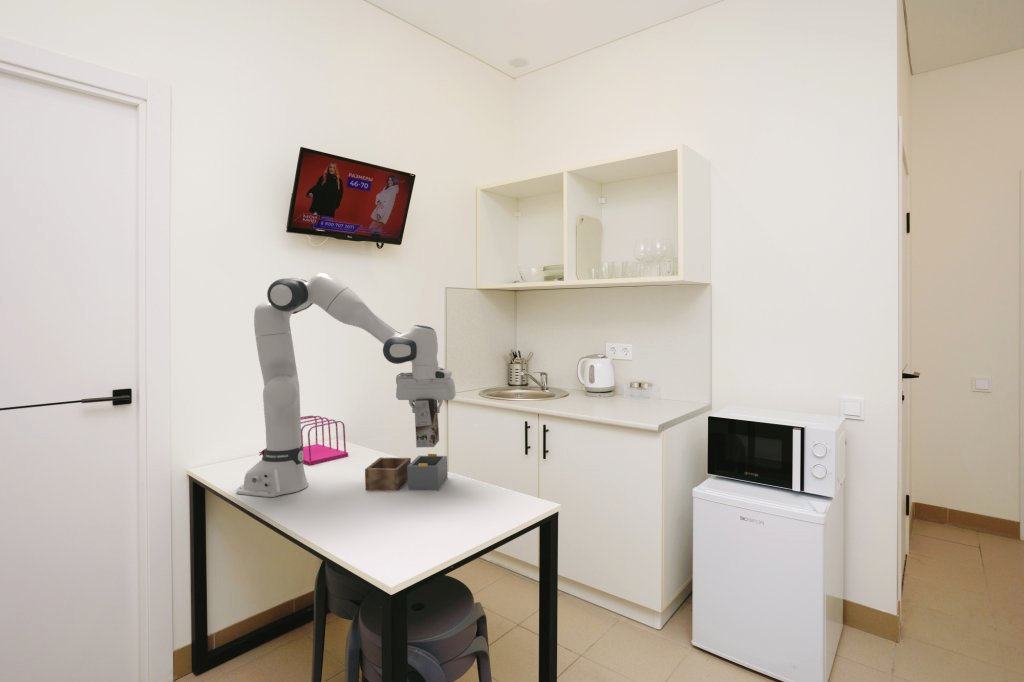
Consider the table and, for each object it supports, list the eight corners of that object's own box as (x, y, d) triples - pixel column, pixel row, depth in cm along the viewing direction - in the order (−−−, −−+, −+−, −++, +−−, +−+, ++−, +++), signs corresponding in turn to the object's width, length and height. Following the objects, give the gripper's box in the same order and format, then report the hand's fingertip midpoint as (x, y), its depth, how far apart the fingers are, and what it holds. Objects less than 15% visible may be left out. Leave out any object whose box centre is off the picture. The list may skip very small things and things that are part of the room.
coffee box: (434, 447, 178) (432, 399, 177) (415, 447, 178) (413, 400, 177) (439, 440, 187) (437, 395, 186) (421, 441, 187) (419, 396, 186)
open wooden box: (365, 489, 178) (364, 469, 178) (380, 476, 192) (380, 457, 192) (398, 490, 177) (397, 469, 176) (411, 476, 191) (410, 457, 191)
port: (408, 490, 177) (407, 464, 177) (419, 477, 190) (418, 453, 190) (438, 490, 176) (437, 464, 175) (447, 477, 189) (447, 453, 189)
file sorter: (309, 466, 208) (308, 426, 207) (279, 455, 224) (277, 419, 223) (348, 456, 221) (347, 419, 220) (317, 447, 237) (316, 412, 237)
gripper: (392, 373, 179) (393, 414, 180) (452, 373, 177) (453, 414, 178) (398, 371, 185) (399, 410, 186) (456, 371, 183) (457, 411, 184)
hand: (426, 412), depth 182 cm, fingers closed on coffee box, 6 cm apart
